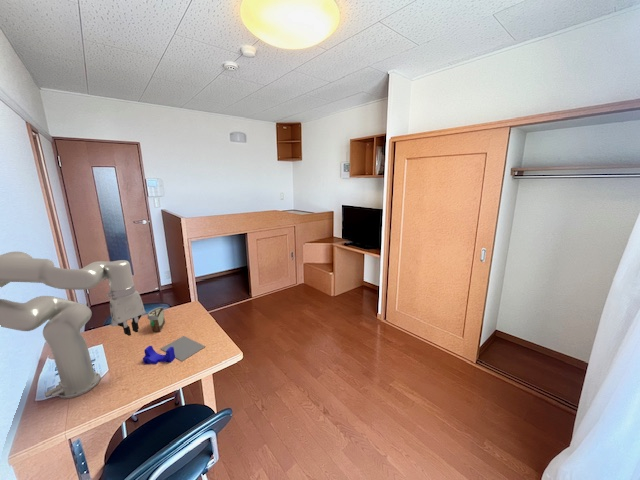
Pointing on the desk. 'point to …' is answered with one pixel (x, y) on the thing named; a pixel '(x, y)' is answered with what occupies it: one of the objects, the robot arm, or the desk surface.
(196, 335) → the desk surface
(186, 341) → the pad
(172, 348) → the blue angular piece
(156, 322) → the food container
